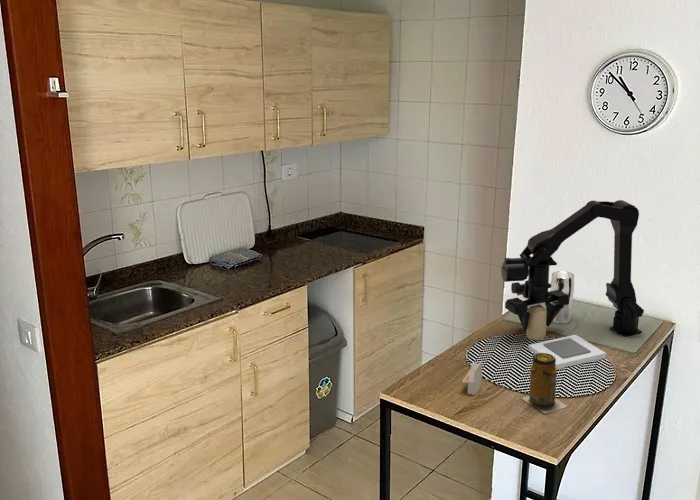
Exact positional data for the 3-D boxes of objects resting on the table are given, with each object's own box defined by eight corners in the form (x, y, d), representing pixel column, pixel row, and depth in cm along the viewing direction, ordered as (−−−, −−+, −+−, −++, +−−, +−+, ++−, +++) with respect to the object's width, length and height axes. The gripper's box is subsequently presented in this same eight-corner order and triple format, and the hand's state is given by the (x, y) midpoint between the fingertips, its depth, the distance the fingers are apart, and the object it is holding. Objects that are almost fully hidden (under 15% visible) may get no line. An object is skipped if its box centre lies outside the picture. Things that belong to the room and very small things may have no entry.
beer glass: (575, 323, 201) (577, 278, 197) (552, 324, 202) (554, 279, 197) (568, 314, 208) (570, 270, 203) (546, 315, 208) (548, 271, 204)
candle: (546, 340, 191) (547, 309, 188) (526, 340, 192) (528, 308, 189) (544, 332, 196) (546, 302, 193) (525, 332, 197) (527, 301, 194)
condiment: (543, 391, 164) (545, 348, 161) (567, 406, 157) (570, 362, 153) (520, 399, 161) (522, 355, 158) (544, 415, 154) (546, 369, 150)
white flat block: (575, 339, 191) (575, 333, 190) (605, 358, 179) (606, 351, 179) (528, 349, 186) (528, 343, 185) (556, 369, 174) (557, 362, 174)
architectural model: (461, 394, 165) (461, 368, 163) (470, 381, 171) (470, 356, 169) (474, 397, 164) (475, 370, 162) (483, 384, 170) (483, 358, 167)
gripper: (548, 266, 199) (546, 313, 203) (495, 275, 193) (494, 324, 198) (572, 277, 189) (569, 326, 193) (516, 287, 183) (515, 338, 188)
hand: (536, 328), depth 193 cm, fingers open, 8 cm apart
